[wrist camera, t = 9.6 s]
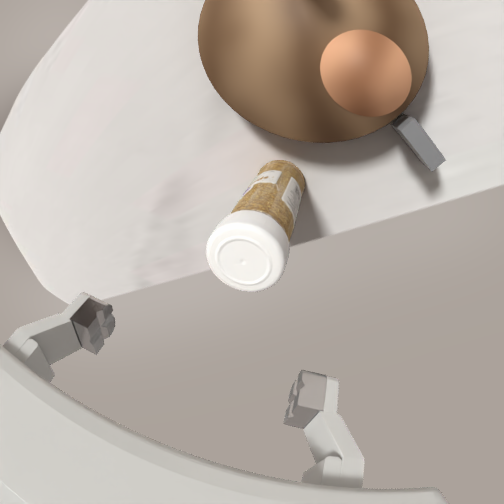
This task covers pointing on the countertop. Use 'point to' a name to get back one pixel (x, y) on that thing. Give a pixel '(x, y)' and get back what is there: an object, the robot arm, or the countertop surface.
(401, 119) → the grey polygonal block
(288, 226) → the sprinkles bottle
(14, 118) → the countertop surface
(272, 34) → the wooden peg stand
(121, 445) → the robot arm
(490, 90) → the countertop surface
